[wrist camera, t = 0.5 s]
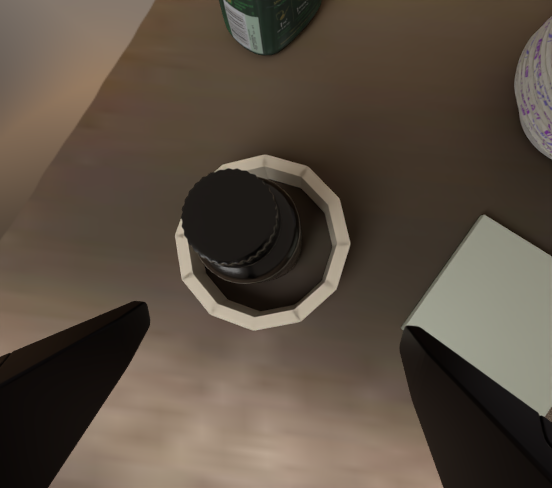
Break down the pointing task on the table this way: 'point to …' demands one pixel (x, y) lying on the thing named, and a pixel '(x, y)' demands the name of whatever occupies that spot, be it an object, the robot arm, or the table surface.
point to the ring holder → (257, 320)
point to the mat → (496, 310)
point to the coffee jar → (267, 22)
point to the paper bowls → (536, 89)
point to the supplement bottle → (242, 226)
